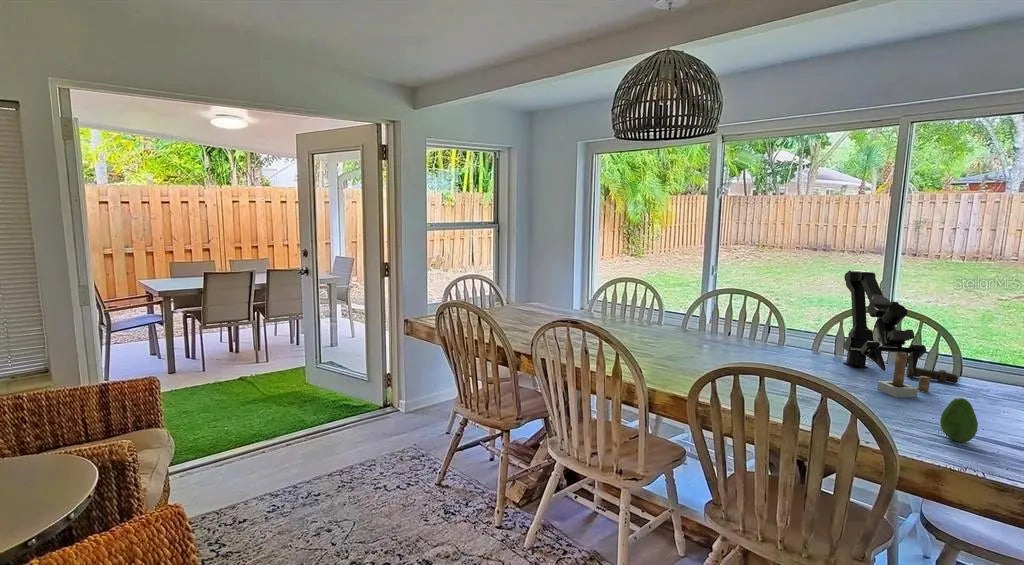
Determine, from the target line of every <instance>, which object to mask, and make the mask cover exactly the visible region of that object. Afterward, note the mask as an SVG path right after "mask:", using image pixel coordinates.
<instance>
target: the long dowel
mask: <svg viewBox="0 0 1024 565" xmlns="http://www.w3.org/2000/svg"><path fill="white" fill-rule="evenodd" d="M895 354H896V355H895V362H894V363H895V364H894V370H893V377H892V381H893V384H892V385H893V386H895V387H903V383H905V382H904V381H905V375H906V369H907V368H906V367H907V358H908V357H907V354H905V353H895Z"/></svg>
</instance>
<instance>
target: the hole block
mask: <svg viewBox="0 0 1024 565" xmlns="http://www.w3.org/2000/svg"><path fill="white" fill-rule="evenodd" d="M892 384H893V380H887V381H886V380H878V382H877V387H876V390H877V391H879V392H882V393H884V394H886V395H889V396H891V397H894V398H896V399H897V398H918V392H919V391H918V388H917V387H915V386H913V385H910V384H908V383H905V382H904V383H903V387H895V386H893V385H892Z"/></svg>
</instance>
